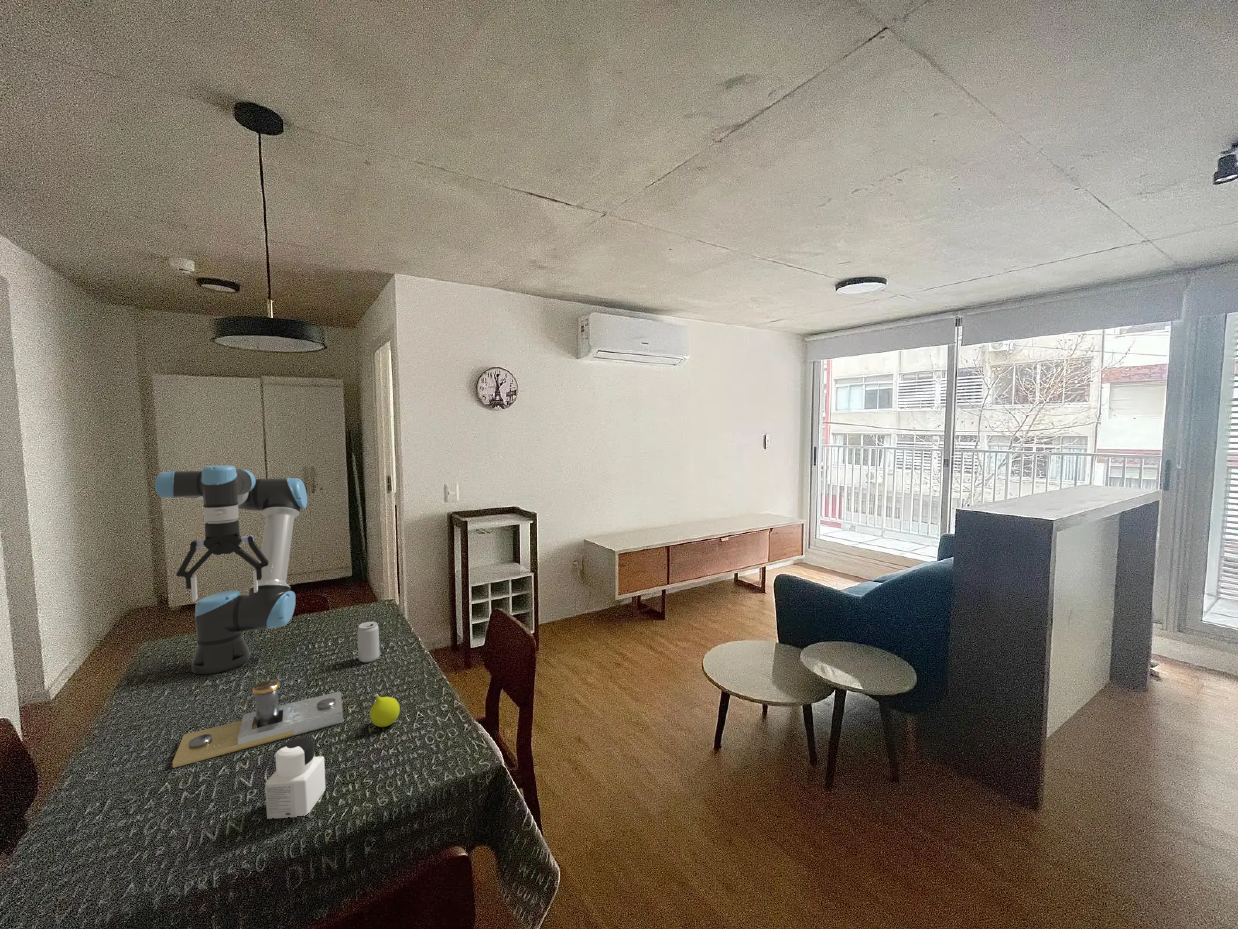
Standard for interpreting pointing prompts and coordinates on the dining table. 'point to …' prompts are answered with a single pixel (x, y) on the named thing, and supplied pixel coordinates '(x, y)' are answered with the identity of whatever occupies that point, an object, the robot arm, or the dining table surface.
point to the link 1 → (217, 743)
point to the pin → (266, 703)
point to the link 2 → (296, 718)
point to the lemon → (384, 711)
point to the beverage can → (368, 641)
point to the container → (295, 780)
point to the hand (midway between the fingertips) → (226, 595)
